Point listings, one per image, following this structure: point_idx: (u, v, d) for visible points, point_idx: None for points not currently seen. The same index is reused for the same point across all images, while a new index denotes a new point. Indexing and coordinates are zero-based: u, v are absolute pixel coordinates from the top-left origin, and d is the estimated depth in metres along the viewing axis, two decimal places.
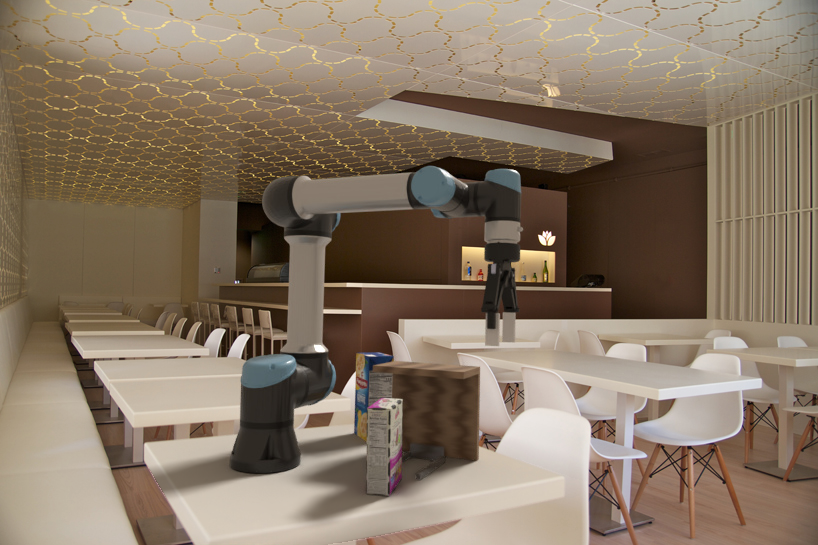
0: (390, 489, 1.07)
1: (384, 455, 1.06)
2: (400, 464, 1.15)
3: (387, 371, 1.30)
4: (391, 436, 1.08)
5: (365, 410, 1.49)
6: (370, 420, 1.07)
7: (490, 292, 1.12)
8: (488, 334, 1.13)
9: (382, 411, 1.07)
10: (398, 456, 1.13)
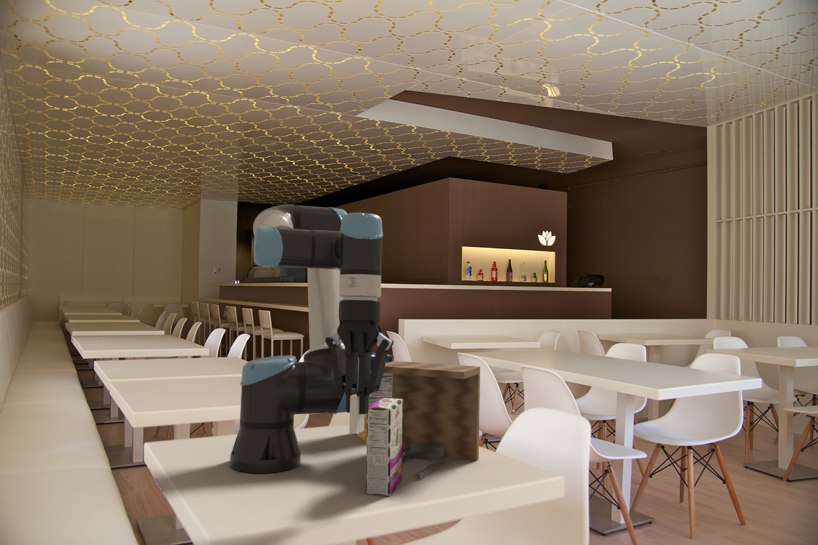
0: (390, 489, 1.07)
1: (384, 455, 1.06)
2: (400, 464, 1.15)
3: (387, 371, 1.30)
4: (391, 436, 1.08)
5: None
6: (370, 420, 1.07)
7: None
8: None
9: (382, 411, 1.07)
10: (398, 456, 1.13)
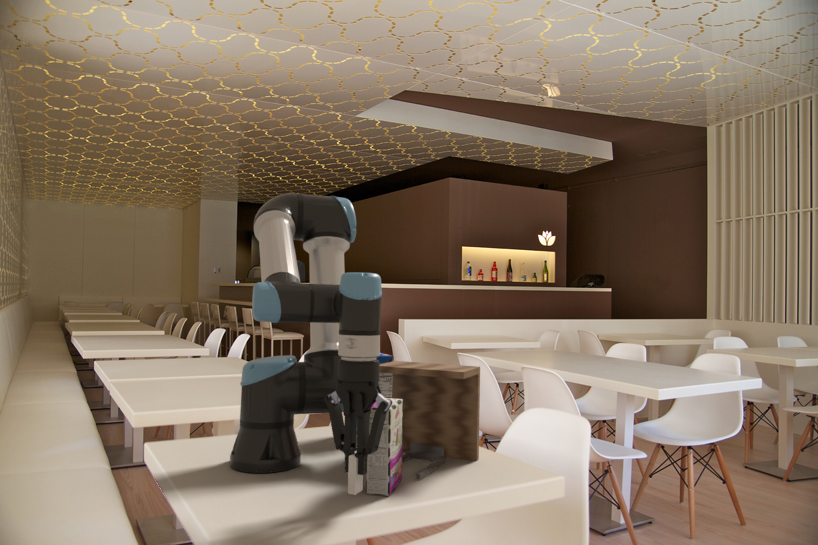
0: (390, 489, 1.07)
1: (384, 455, 1.06)
2: (400, 464, 1.15)
3: (387, 371, 1.30)
4: (391, 436, 1.08)
5: None
6: (370, 420, 1.07)
7: None
8: None
9: None
10: (398, 456, 1.13)
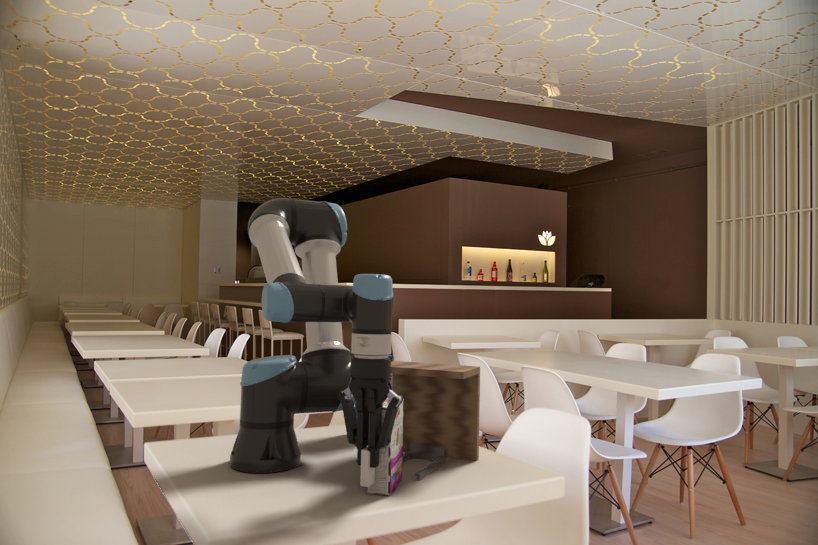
0: (390, 488, 1.07)
1: (384, 454, 1.07)
2: (401, 464, 1.15)
3: None
4: (392, 435, 1.08)
5: None
6: None
7: None
8: None
9: (382, 411, 1.07)
10: (399, 456, 1.13)
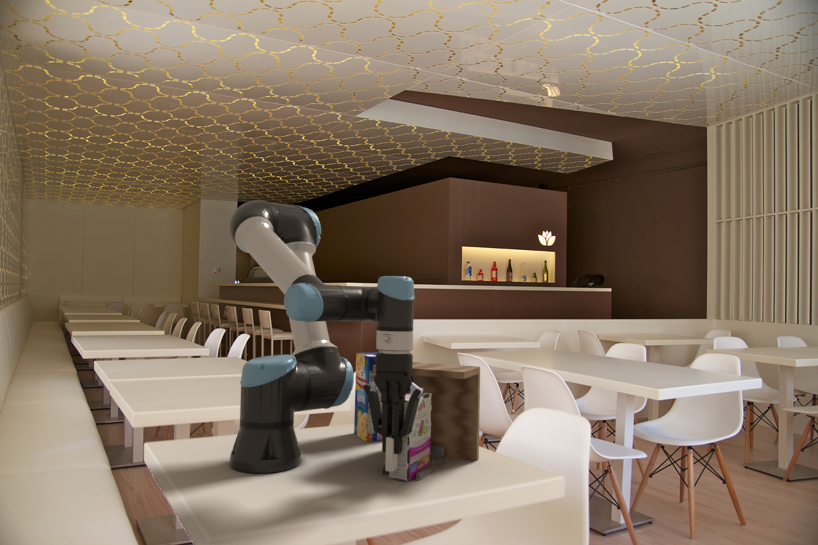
0: (409, 475, 1.15)
1: (404, 443, 1.16)
2: (427, 454, 1.23)
3: None
4: None
5: (365, 410, 1.49)
6: None
7: None
8: None
9: None
10: (423, 446, 1.21)
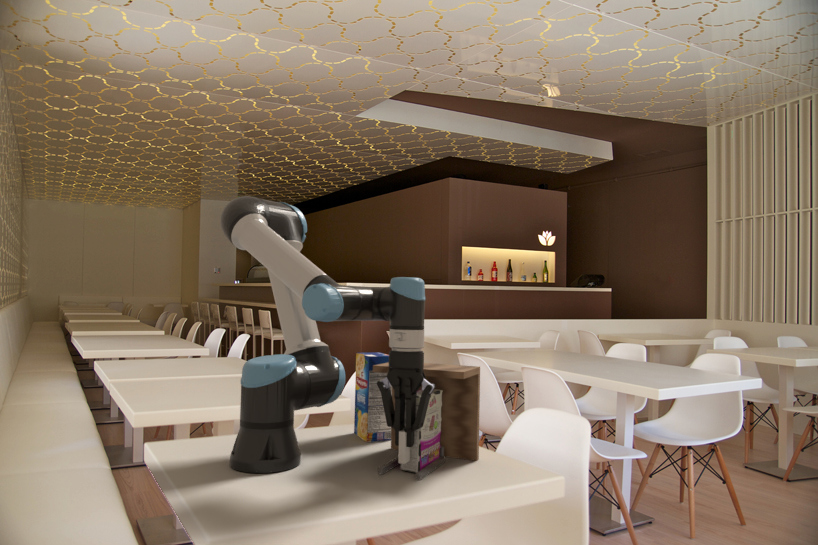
0: (420, 468, 1.21)
1: (416, 437, 1.21)
2: (437, 448, 1.28)
3: (387, 371, 1.30)
4: None
5: (365, 410, 1.49)
6: (405, 406, 1.22)
7: None
8: None
9: None
10: (434, 440, 1.27)
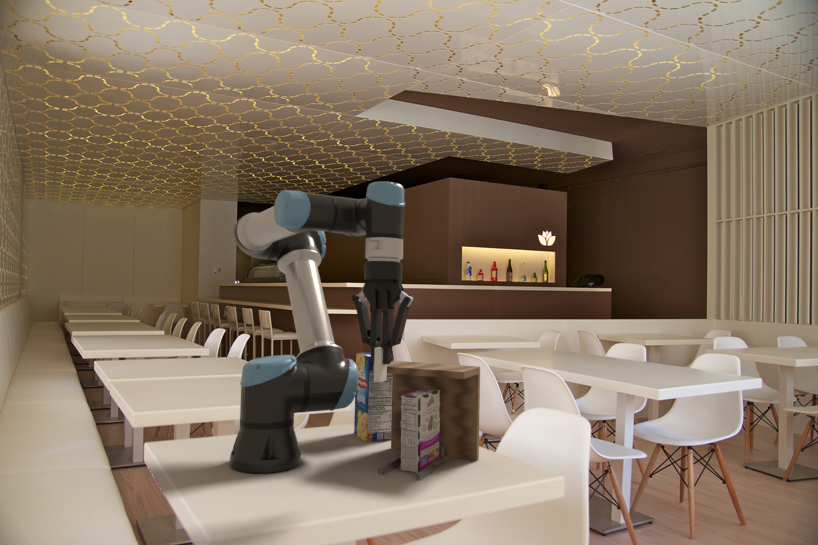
0: (420, 468, 1.21)
1: (414, 437, 1.21)
2: (437, 448, 1.29)
3: (387, 371, 1.30)
4: (422, 421, 1.22)
5: (365, 410, 1.49)
6: (403, 406, 1.23)
7: None
8: None
9: (413, 399, 1.22)
10: (433, 440, 1.27)
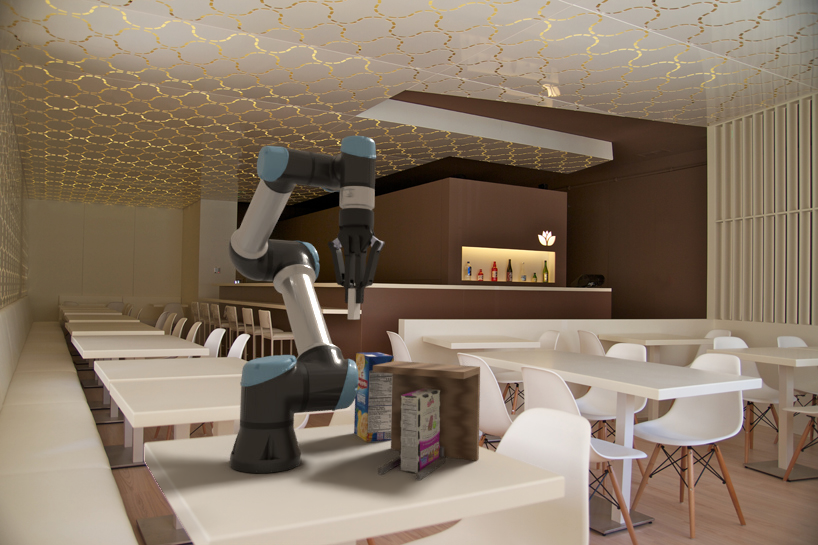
0: (420, 468, 1.21)
1: (414, 437, 1.21)
2: (437, 448, 1.29)
3: (387, 371, 1.30)
4: (422, 421, 1.22)
5: (365, 410, 1.49)
6: (403, 406, 1.23)
7: None
8: None
9: (413, 399, 1.22)
10: (433, 440, 1.27)
